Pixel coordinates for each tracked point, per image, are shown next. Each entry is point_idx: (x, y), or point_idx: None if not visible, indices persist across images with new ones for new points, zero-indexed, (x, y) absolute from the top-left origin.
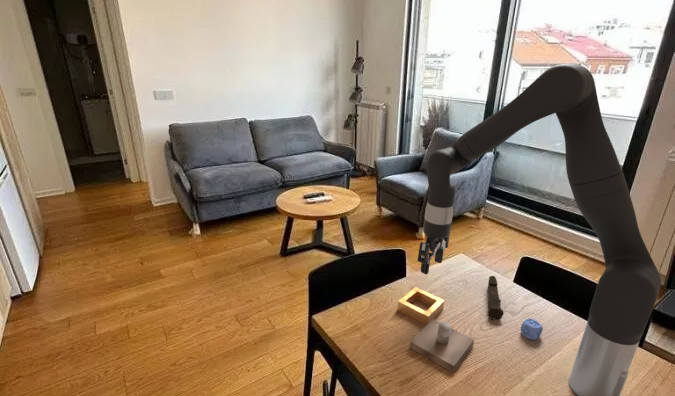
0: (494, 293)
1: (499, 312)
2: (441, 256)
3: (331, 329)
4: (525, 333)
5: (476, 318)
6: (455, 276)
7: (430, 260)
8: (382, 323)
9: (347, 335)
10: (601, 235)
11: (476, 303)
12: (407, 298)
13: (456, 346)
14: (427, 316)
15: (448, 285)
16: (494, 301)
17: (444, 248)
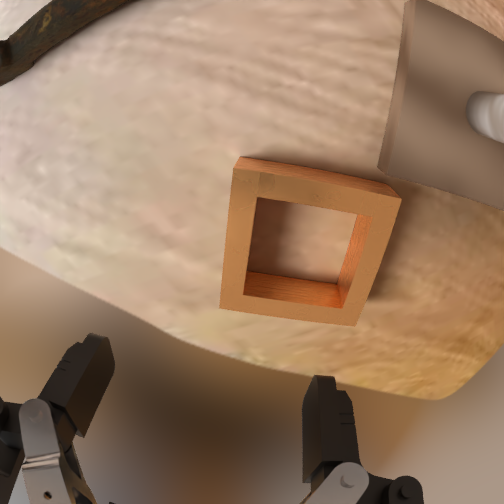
0: (47, 15)
1: None
2: (80, 383)
3: (470, 372)
4: None
5: (218, 16)
6: (24, 200)
7: (323, 485)
8: (430, 308)
9: (484, 343)
10: None
11: (114, 58)
12: (319, 307)
13: (484, 61)
14: (400, 201)
15: (78, 198)
16: None
17: (28, 428)
